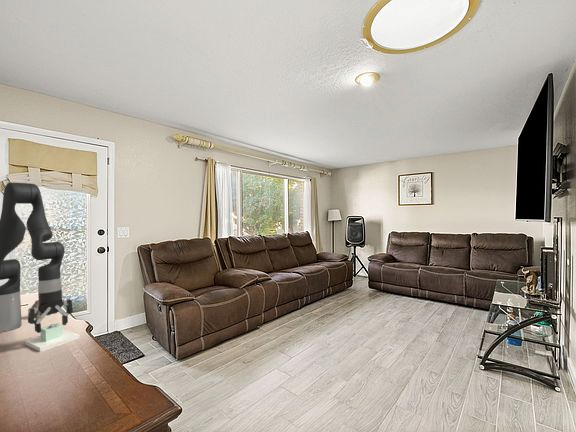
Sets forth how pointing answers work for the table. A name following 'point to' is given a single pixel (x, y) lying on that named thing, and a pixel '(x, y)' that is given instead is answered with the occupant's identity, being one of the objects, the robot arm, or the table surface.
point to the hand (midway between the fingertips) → (52, 328)
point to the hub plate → (44, 345)
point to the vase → (35, 307)
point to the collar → (51, 332)
